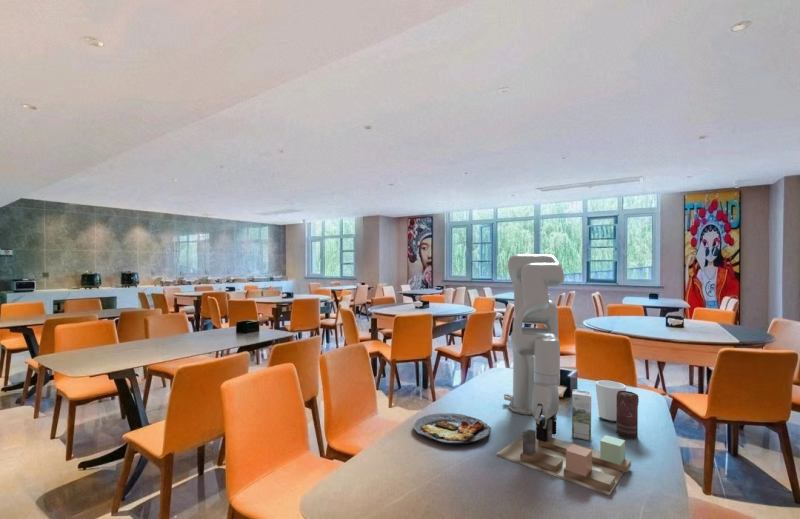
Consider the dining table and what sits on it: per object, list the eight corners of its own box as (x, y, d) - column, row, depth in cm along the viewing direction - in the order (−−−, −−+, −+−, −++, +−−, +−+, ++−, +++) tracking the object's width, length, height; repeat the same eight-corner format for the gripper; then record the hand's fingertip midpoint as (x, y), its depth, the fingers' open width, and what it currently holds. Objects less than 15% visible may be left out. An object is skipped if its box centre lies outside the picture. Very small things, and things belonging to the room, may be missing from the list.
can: (641, 440, 128) (641, 396, 129) (619, 438, 130) (620, 395, 130) (634, 432, 134) (634, 390, 135) (613, 431, 136) (614, 389, 136)
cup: (596, 421, 144) (596, 386, 144) (594, 412, 153) (594, 379, 153) (628, 426, 140) (628, 389, 140) (624, 416, 149) (624, 382, 149)
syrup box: (591, 434, 133) (591, 390, 133) (591, 441, 127) (591, 395, 127) (572, 431, 135) (572, 388, 135) (571, 438, 130) (571, 393, 130)
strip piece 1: (520, 459, 113) (520, 432, 113) (527, 453, 117) (527, 427, 117) (556, 472, 106) (556, 443, 106) (562, 465, 110) (562, 437, 110)
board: (496, 455, 117) (496, 453, 117) (526, 434, 132) (526, 432, 132) (609, 495, 97) (609, 492, 97) (628, 465, 112) (628, 463, 112)
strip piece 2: (563, 475, 105) (563, 469, 105) (570, 468, 109) (570, 462, 109) (609, 492, 98) (609, 484, 98) (615, 483, 101) (615, 476, 101)
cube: (600, 459, 111) (600, 440, 111) (605, 452, 114) (605, 435, 115) (620, 465, 107) (620, 446, 107) (624, 458, 111) (625, 440, 111)
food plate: (503, 432, 133) (503, 421, 134) (464, 456, 116) (463, 444, 117) (443, 414, 151) (442, 405, 151) (400, 433, 133) (400, 423, 134)
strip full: (538, 445, 122) (538, 420, 122) (544, 439, 126) (544, 415, 126) (626, 472, 106) (626, 444, 106) (631, 465, 110) (631, 438, 110)
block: (565, 469, 105) (565, 450, 105) (572, 462, 108) (572, 444, 108) (585, 476, 101) (586, 456, 101) (591, 469, 105) (592, 449, 105)
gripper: (545, 370, 132) (545, 425, 132) (522, 381, 119) (522, 442, 119) (569, 374, 127) (568, 431, 127) (547, 386, 115) (547, 450, 114)
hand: (546, 436), depth 123 cm, fingers open, 6 cm apart
